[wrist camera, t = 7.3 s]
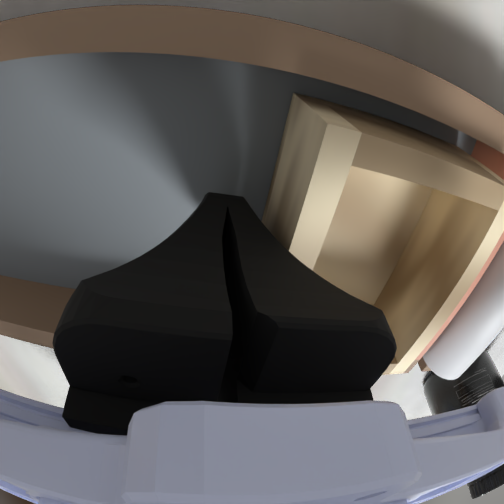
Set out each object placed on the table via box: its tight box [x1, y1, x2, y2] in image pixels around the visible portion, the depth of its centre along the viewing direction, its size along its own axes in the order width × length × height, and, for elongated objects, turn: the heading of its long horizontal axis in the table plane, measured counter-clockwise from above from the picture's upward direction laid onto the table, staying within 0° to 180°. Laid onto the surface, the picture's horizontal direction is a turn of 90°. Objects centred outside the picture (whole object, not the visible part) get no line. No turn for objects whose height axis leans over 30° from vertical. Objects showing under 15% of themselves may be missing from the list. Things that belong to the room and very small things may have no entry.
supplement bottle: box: [424, 350, 504, 499], centre depth 18 cm, size 7×7×12 cm
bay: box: [0, 5, 504, 380], centre depth 10 cm, size 13×29×5 cm, turn 79°
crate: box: [261, 93, 504, 375], centre depth 11 cm, size 9×7×4 cm
